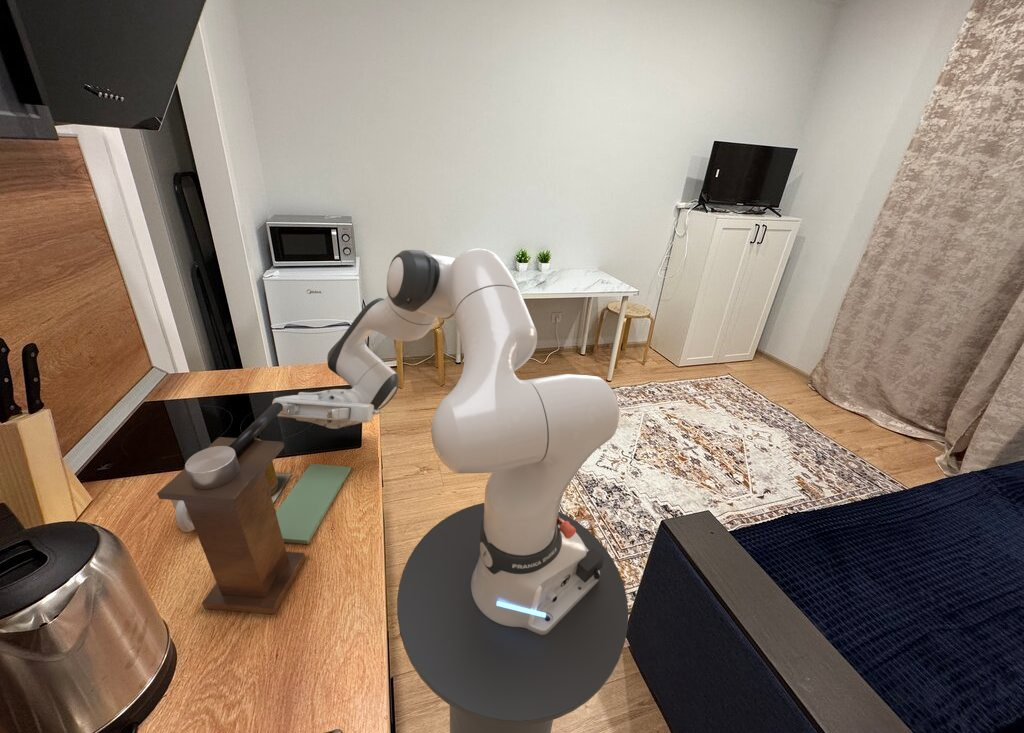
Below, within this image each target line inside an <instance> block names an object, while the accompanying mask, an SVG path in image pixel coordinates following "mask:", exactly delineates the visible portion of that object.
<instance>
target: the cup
mask: <svg viewBox="0 0 1024 733" xmlns="http://www.w3.org/2000/svg"><path fill="white" fill-rule="evenodd" d="M170 501H171V503H172V506H173V508H174V510H175V512H174V516H175V517H174V518H175V523H176V525H177V527H178V529H179V530H180V531H182V532H184V533H189V532H192V531H195V528H194V526H193V523H192V521H191V518H190V516H189V513H188V511H187V509H186V506H185V504H184V501H181V500H170Z"/></svg>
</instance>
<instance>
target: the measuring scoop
mask: <svg viewBox="0 0 1024 733" xmlns="http://www.w3.org/2000/svg"><path fill="white" fill-rule="evenodd" d="M282 410H283V405H282V404H281V403H279V402H276V403H273V404H272V403H271V404H270V406H268V408H267V409H266V410H265V411H264V412H263V413H261V415H260V416H259V417H257V418H256V419H255V420H254V421H253V422H252V423H251V424H250V425H249V426H248V427H247V428H246V429H245V430H244V431H243V432H242V433H241V434H240V435H239V436H238V437H236V438H237V439H236V440H235V441H234V442H233V443H232V444H231V445H230V446H229V447H227V446H215V447H210V448H208V447H206V448H204V449H202V450H199V451H197V452H195V453H194V454H192V455H191V456H190V457H189V458H188V459H187V460H186V462H185V464H184V468H185V469H186V472H187V474H188V477H189V479H190V482H191V484H192V486H193V487H195V488H197V489H212V488H216V487H220V486H222V485H224V484H226V483H228V482H230V481H231V480H233V479H234V478H235V477H236V476H237V475H238V473H239V471H240V466H239V463H238V460H237V456H238V455H239V454H240V453H241V452H242V451H243V450H244V449H245V448H246V447H247V446H248V445H249V444H250V443H251V442H252V441H253V440H254V439H255V438H258V436H259V435H260V434H261V433H262V432H263V431H264V430H265V429H266V427H268V426H269V425H270V423H272V422H273V420H275V418H276V416H277V415H278V414H279V413H280V412H281V411H282Z"/></svg>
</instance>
